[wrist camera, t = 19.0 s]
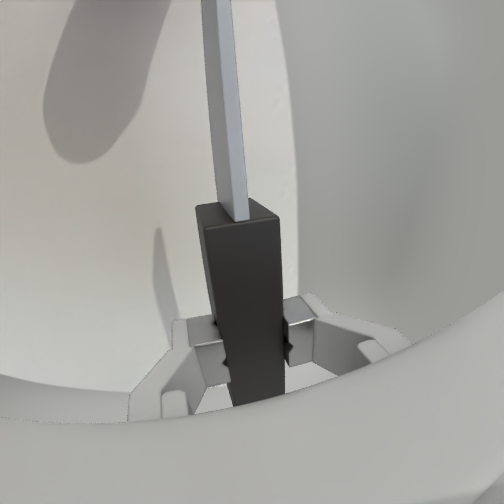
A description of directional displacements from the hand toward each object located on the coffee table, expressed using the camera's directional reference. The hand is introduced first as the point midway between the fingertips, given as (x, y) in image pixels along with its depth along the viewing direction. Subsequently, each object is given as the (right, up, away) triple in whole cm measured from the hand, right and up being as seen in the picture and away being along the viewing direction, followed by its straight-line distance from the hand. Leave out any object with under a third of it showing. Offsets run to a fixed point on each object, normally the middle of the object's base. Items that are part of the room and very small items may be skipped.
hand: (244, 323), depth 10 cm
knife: (-1, +5, 0) cm, 5 cm away
